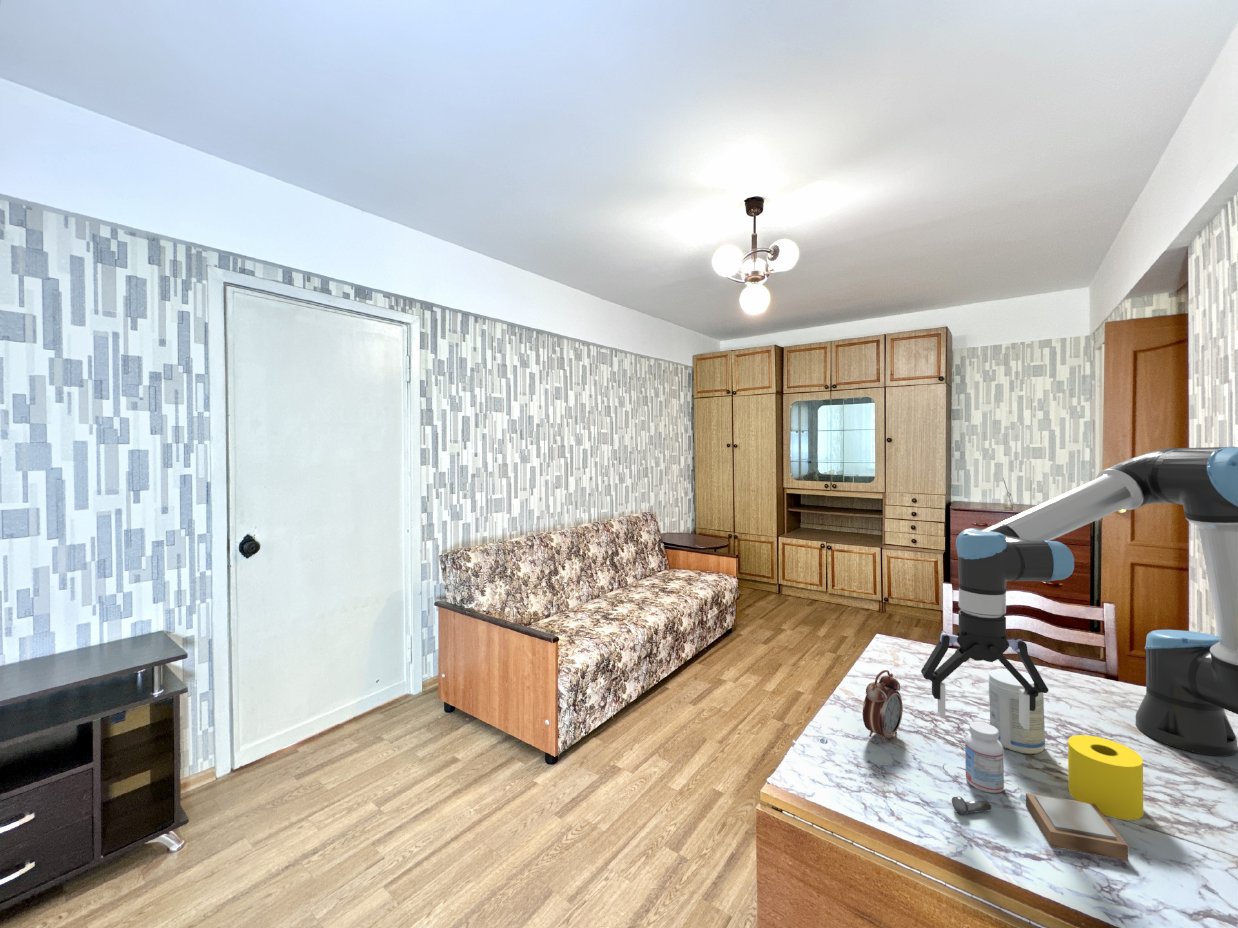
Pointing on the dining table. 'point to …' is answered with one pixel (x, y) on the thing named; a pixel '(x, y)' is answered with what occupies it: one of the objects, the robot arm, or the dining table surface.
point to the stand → (1076, 826)
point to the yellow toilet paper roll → (1106, 776)
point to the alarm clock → (883, 706)
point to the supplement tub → (1014, 713)
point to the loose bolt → (969, 805)
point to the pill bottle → (984, 758)
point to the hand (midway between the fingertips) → (981, 720)
